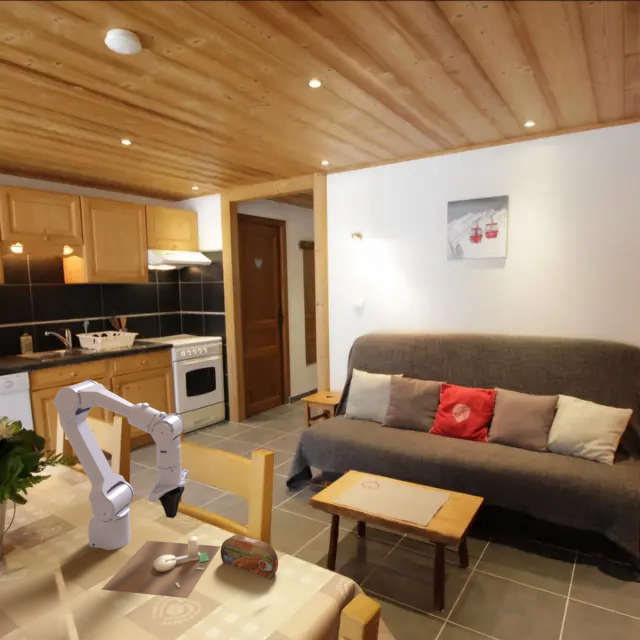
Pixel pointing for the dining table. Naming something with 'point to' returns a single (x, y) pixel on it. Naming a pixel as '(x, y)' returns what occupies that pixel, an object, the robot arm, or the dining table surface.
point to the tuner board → (173, 582)
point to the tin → (250, 555)
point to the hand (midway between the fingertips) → (171, 516)
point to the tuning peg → (170, 560)
